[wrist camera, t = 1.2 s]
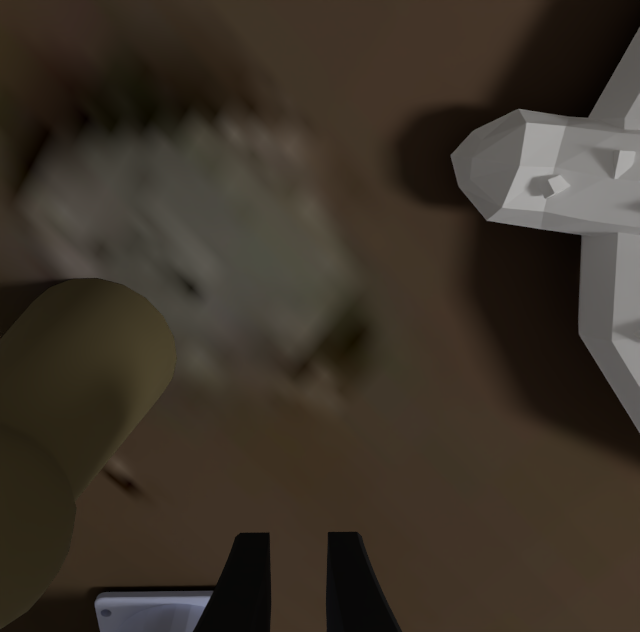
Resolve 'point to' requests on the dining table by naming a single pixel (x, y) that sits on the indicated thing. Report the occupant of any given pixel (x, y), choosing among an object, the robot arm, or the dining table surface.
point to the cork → (68, 417)
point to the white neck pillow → (576, 206)
